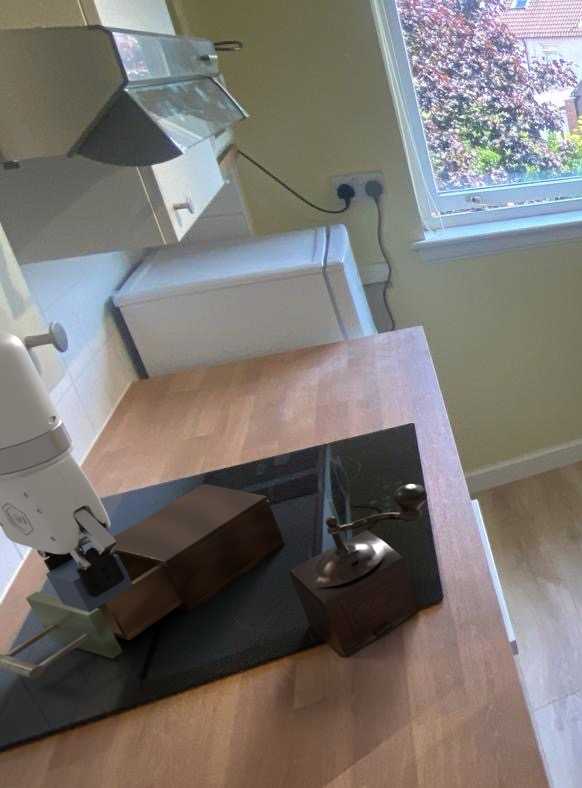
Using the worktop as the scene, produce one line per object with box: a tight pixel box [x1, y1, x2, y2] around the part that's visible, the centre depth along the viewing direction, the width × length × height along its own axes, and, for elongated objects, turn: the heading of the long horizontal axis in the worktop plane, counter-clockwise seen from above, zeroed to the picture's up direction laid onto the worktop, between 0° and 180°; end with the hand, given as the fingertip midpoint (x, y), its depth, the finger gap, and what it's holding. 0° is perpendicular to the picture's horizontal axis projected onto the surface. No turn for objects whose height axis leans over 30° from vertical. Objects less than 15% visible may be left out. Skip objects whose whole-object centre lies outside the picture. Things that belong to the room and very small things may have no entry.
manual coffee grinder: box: [289, 483, 428, 658], centre depth 97 cm, size 16×11×18 cm
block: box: [45, 550, 133, 612], centre depth 83 cm, size 4×4×4 cm
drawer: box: [0, 553, 182, 679], centre depth 96 cm, size 20×11×7 cm, turn 164°
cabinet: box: [112, 483, 286, 614], centre depth 107 cm, size 15×13×9 cm
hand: (91, 582), depth 84 cm, fingers closed on block, 4 cm apart
